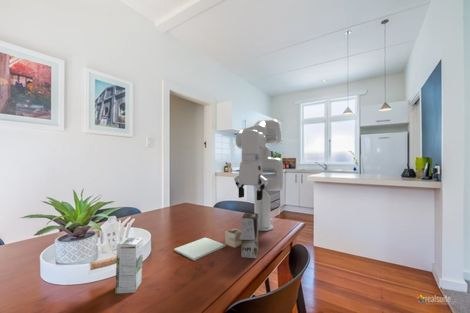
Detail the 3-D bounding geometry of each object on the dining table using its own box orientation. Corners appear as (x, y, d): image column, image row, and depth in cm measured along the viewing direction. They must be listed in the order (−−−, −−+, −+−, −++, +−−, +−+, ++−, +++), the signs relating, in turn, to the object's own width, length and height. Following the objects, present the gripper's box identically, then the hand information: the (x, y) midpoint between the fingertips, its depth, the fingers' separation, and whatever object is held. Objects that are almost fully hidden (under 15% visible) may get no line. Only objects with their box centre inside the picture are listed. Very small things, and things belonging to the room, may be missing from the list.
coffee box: (256, 258, 83) (256, 218, 83) (241, 257, 84) (241, 217, 84) (258, 249, 92) (258, 213, 92) (244, 248, 93) (244, 212, 93)
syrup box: (123, 282, 66) (124, 237, 66) (142, 282, 67) (143, 236, 67) (115, 294, 60) (115, 244, 61) (135, 293, 61) (136, 243, 61)
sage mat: (205, 238, 104) (205, 237, 104) (225, 246, 95) (225, 244, 95) (174, 250, 90) (174, 248, 90) (193, 260, 81) (193, 258, 81)
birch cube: (233, 240, 102) (233, 228, 102) (243, 243, 98) (243, 230, 98) (225, 244, 97) (225, 231, 98) (234, 247, 93) (234, 234, 94)
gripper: (272, 158, 86) (272, 199, 85) (240, 159, 97) (240, 195, 96) (262, 158, 80) (262, 202, 79) (229, 158, 91) (229, 197, 91)
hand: (250, 198), depth 88 cm, fingers open, 9 cm apart
